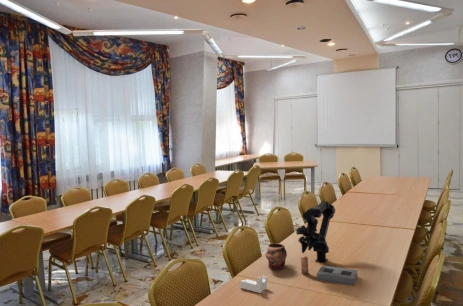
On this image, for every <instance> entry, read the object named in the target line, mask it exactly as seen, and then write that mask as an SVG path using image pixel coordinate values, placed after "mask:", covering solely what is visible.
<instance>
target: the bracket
mask: <svg viewBox="0 0 463 306" xmlns="http://www.w3.org/2000/svg"><path fill="white" fill-rule="evenodd" d="M239 288H240V289H244V290H248V291H251V292H255V293H259V294H260V293H264V291H265V290H267V289H268V276H267V275H262V277H260V276H256V281H255V280H251V279H248V278H247V279H242V280H240V281H239Z"/></svg>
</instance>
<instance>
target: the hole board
mask: <svg viewBox="0 0 463 306" xmlns="http://www.w3.org/2000/svg"><path fill="white" fill-rule="evenodd" d="M316 280H317V281H321V282H328V283H333V284H340V285H345V286H350V287H351V286H352V287H354V286H355V284H356V281H357V280H358V270H357V269H351V268H350V269H349V268H343V267H336V266H329V265H321V266H320V268H319V270H318V271H317V272H316Z"/></svg>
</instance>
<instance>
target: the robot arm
mask: <svg viewBox="0 0 463 306" xmlns="http://www.w3.org/2000/svg"><path fill="white" fill-rule="evenodd" d="M335 214H336V208H335V206H334V205H332V204H331V203H330V202H329V201H325V200H322V201H320V203H318V204H317V205H316V206H314V207H313V206H312V207H309V208H308V209H307V210H306V211H304V212H303V214H302V218H303V220H304V222H306V223H307V224H306V226H305V225H301V226H300V227H297V228H296V229H295V231H296V235H299V236H300V235H302V236H300V237H299V238H298V242H299V243H300V245H301V253H302V254H305V252H306V250H308V251H311V250H313V252H316V259H315V261H314V262H317V263H322V264H323V263H326V262H327V261H328V258H327V253H330V252H329V250H330V247H329V246H328V242H327V239H326V238H327V233H328V230H329V225H330V221H331V219H332V218H334V216H335ZM321 217H322V220H321V224H320V228H319V231H318V229H317V227H318V224H319V220H318V219H320V218H321Z"/></svg>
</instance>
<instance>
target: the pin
mask: <svg viewBox="0 0 463 306" xmlns="http://www.w3.org/2000/svg"><path fill="white" fill-rule="evenodd" d="M300 264H301V265H300V269H301V270H300V271H301V275H303V276H306V275H309V257H308V256H307V255H302V256H300Z"/></svg>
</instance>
